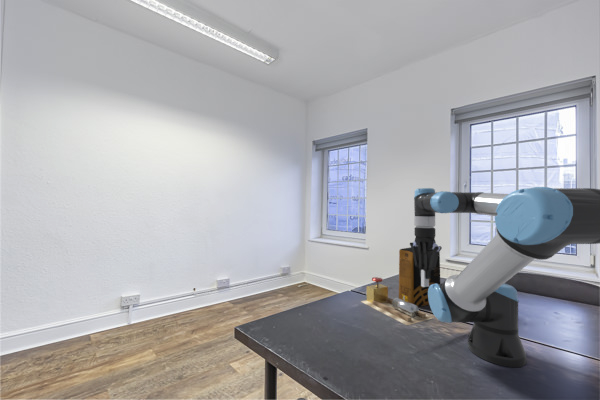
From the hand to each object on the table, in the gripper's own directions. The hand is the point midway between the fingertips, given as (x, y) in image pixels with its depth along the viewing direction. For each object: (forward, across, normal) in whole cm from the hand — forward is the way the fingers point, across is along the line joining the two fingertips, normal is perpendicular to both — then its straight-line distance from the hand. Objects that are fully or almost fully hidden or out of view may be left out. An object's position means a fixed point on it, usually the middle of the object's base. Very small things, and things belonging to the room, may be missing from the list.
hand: (425, 286), depth 101 cm
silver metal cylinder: (+15, +11, 0) cm, 18 cm away
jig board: (+16, +16, 0) cm, 23 cm away
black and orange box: (+17, +18, -19) cm, 31 cm away
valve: (+15, +28, 0) cm, 32 cm away
